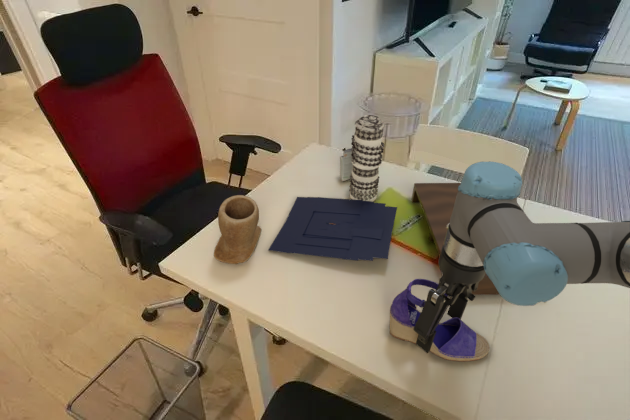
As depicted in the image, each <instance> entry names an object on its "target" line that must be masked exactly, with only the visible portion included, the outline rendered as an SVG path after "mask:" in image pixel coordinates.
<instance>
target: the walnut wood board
mask: <svg viewBox="0 0 630 420" xmlns="http://www.w3.org/2000/svg"><path fill="white" fill-rule="evenodd" d="M460 184H461V182H415V183H414V184H413V187H412V188H413V189H412V194H411V202H412V204H413V203H416V204H417V203H419V204H420V207H421V210H422V212H423V216H424V217H425V220H426V223H427V226H428V228H429V233H428V242H429V243H434V244H435V248H436V250H437V252H438V255H439V256H440V253H441V250H442V246H443V245H444V240H445V237H446V233H447V230H448V229H447V228H446V225H447V224H449V223H450V219H451V215H452V212H453V208H454V204H455V200H456V197H457V193H458V187H459V186H460ZM472 294H473V295H474V296H476V295H477V296H480V295H481V296H482V295H483V296H484V295H485V296H486V295H491V296H493V295H500V294H499V292H498V291H497V289H496V287H495V286H494V284H493V282H492V281H491V280H490V279H489V277H488V276H487V274H485V276H484V278H483V279H482V280H481V281H479V284H478V288H477V290H476V291H475V292H474V291H472Z"/></svg>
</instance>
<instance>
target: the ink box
mask: <svg viewBox="0 0 630 420" xmlns="http://www.w3.org/2000/svg"><path fill="white" fill-rule="evenodd" d="M351 149H352V147H350V148H347V149H344V150H343V155H341V156H339V178H340V180H341V181H342V182H345V181H348V180H349V181H350V180H351V178H350V176H351V173H352V168H353V164H352V161H351V160H352V156H351V154H352V151H351Z"/></svg>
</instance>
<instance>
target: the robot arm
mask: <svg viewBox="0 0 630 420" xmlns="http://www.w3.org/2000/svg"><path fill="white" fill-rule="evenodd" d="M460 183H461V184H460V186H459V187H458V193H457V197H456V200H455V204H454V208H453V212H452V215H451V219H450V223H449V224H447V225H446V228H447V229H448V230H447V233H446V237H445V240H444V245H443V246H442V250H441V253H440V256H439V257H438V262H437V263H438V267H439V270H440V272H441V276H440V278H439V283H438V284H439V285H438V287H437V289H436V290H435V289H433V288H430V289H429V290H428V292H427V296H426V300H425V301H426V302H425V305H424V307H422V308H421V311H420V312H421V314H420V316H419V318H418V320H417V322H416V325H415V327H414V329H413V330H414V331H415V332H416V333H417V334H418V338H417V341H416V344H417V345H416V344H415V345H416V346H418V347H419V348H420V349H421V350H423V351H424V352H425V353H426V354H428V353H430V349H431V346H432V343H433V340H434V337H435V334H436V332H437V331H435V329H436V327H437V326H438V324H439V323H441V321H442V319H443V317H444V315H445V314H446V315H448V316H449V317H450V319H451V318H455V317H458V318H459V319H461V320H462V318H463V316H464V313H465V310H466V307H467V305H468V302H469V301H471V302H473V301H474V300H475V298H476V295H473V294H472V291H474V292H475V291H476V290H477V288H478V284H479V281H481V280H482V279H483V278H484V276H485V274H487V276H488V277H489V279H490V280H491V281H492V282H493V284H494V286H495V287H496V289H497V291H498V292H499V294H500V297H501V298H502V299H503V300H504V301H506V302H507V303H510V304H512V305H515V306H519V307H529V306H535V305H537V304H539V303H547V302H549V301H551V300H553V299H555V298H557V296H559V295H560V294H561V293H562V292H564V290H565V288H566V287H567V285H579V284H582V285H583V284H609V285H617V286H621V287H624V288H627V289H630V220H622V221H604V222H539V223H538V222H533V221H532V220H531V219H530V218H529V216H528V215H527V214H526V212H524V210H523V208H522V207H521V206H520V204H519V203H518V197H519V196H520V195H521V193H522V192H521V189H522V186H523V179H522V176H521V174H520V173H519V171H517V170H516V169H515V168H513V167H511V166H509V165H507V164H505V163H503V162H502V163H501V162H497V161H477V162H474V163H471V164H470V165H469V166H468V167H466V169H465V171H464V173H463V176H462V179H461V181H460ZM444 294H447V295H448V297H447V296H446V295H444ZM446 312H447V313H446Z"/></svg>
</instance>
